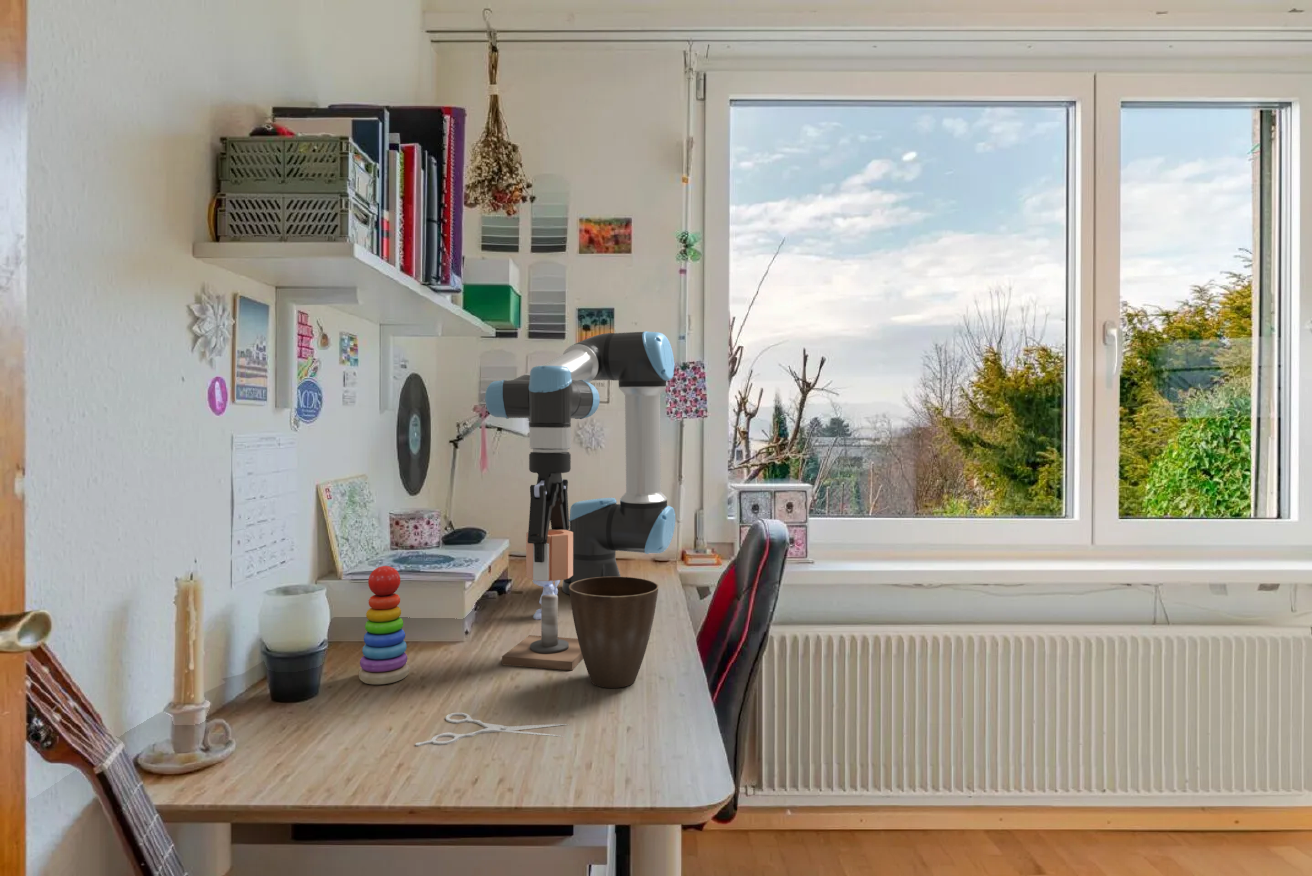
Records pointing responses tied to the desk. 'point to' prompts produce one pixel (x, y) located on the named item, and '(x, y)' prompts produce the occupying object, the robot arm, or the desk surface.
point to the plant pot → (613, 626)
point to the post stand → (546, 644)
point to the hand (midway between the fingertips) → (549, 574)
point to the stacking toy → (384, 631)
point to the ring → (554, 555)
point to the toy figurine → (546, 592)
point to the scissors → (488, 729)
